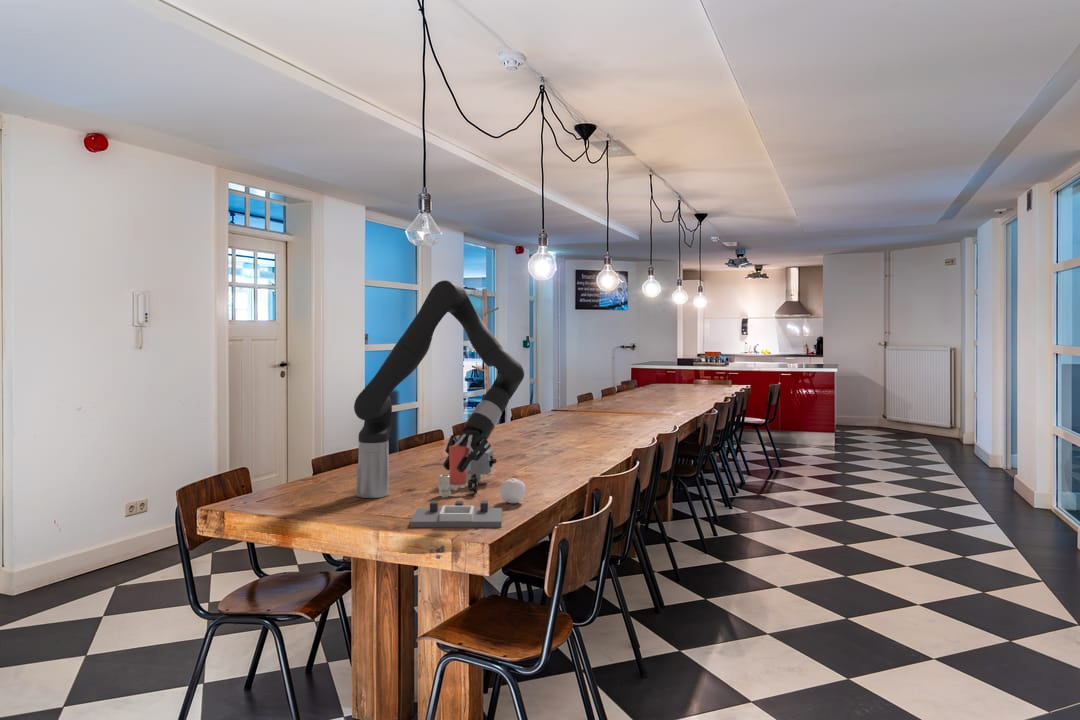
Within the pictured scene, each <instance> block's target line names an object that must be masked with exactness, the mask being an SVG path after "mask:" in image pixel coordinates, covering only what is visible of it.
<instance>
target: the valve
mask: <svg viewBox="0 0 1080 720" xmlns="http://www.w3.org/2000/svg"><path fill="white" fill-rule="evenodd" d="M471 478H473V479H470V480H469V481H468V482H467V483H466V484H464V485H450V484H449V474H439V476H438V487H437V488H438V497H439V496H442V497H441V498H449V497H448V496H450V495H451V496H452V490H453V491H457V490H458V489H459V488H460V489H465V488H466V487H467V488H468V490H469V492H471V493H472V495H473V494H475V495H477V494H478V488H479V486H478V483H477V478H476V474H473V475H472V476H471ZM451 496H450V497H451Z"/></svg>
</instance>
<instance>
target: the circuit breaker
mask: <svg viewBox="0 0 1080 720" xmlns="http://www.w3.org/2000/svg"><path fill="white" fill-rule="evenodd" d="M478 454H479V451H478V453H477V454H476V455H478ZM497 462H498V461H497V458H494V449H493V448H489V449H488V450H487V451H486V452H485V453H484V454H483V455H482V456H481V458H480V459H479V460H478V461H475V460H473V461H472V462H470V463H469V465H468V466H467V468H466V483H467V482H468V481H469V480H470V479H473V478H471V476H472V475H473V474H476V478H477V484H479V482H481V481H480V480H481V479H482V476H481V475H483V476H486V475H489V474H490V473H491V472H493V471H494V465H495V464H496V463H497Z"/></svg>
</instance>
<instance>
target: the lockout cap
mask: <svg viewBox="0 0 1080 720" xmlns="http://www.w3.org/2000/svg"><path fill="white" fill-rule="evenodd" d="M465 453H466V446H464V445H453V446H449V455H448V456H449V470H448V471H449V472H448V473H449V474H448V475H449V484H450V485H464V484H466V470H464V472H463V473H462V472H459V471H458V469H457V466H458V465H459V463H460V462H461V460H462V458H463V457H465Z"/></svg>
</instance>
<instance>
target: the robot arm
mask: <svg viewBox="0 0 1080 720" xmlns="http://www.w3.org/2000/svg"><path fill="white" fill-rule="evenodd" d="M447 313H450V314H451V315H452V316H453V317H454V318H455V319H456V320H457V321H458V322H459V323H460V325H461V327H462V328H463V329H464V331H465V332H466V335H467V338H468V340H469V342H470V344H471V346H472V348H473V349H474V351H475V352H476V353H477V356H479V357H480V359H481V360H482V362H483V363H485V365H486V366H487V367H489V368H490V367H494V368H495V369H496V370H497V372H498V374H497V377H495V380H494V381H493V383H492V385H491V387H490V388H489V389H488V390H487V391H486V393H485V394H484V395H483V397H482V398H481V400H480V402H479V403H478V404H477V405H476V407H475V408H474V410H473V411H472V413H471V414H470V415H469V417H468V419H467V420H466V421H465V423H464V425H463V431H462V432H461V433H460V434H459V435H458V436H456V435H455V434H452V435H450V437H449V439H448V443H447V445H446V447H445V453H446V454H447V457H446V458H445V461H444V462H443V466H442V467H443V468H444V469H445V470H446V471H449V446H453V445H464V446H466V453H465V457H463V458H462V460H461V462H460V463H459V465H458V466H457V469H458V471H459V472H462V473H463V472H464V470H466V468H467V466H468V465H469V463H470V462H472V461H473V460H475V461H478V460H479V459H480V458H481V456H482V455H483V454H484V453H485V452H486V451H487V450H488V449H491V443H490V441H488V439H489V437H490V436H491V435H492V432H493V431H494V430H495V428H496V426H497V424H498V423H499V421H500V419H501V416H502V414H503V413H504V411H505V409H506V407H507V406H508V404H509V402H510V400H511V399H512V397H513V395H514V394H515V392H516V391H517V390H518V388H519V387H520V385H521V383H522V381H523V380H524V377H525V370H524V368H523V366H522V365H521V363H520V362H519V361H518V360H517V359H516V358H515V357H514V356H512V355H511V354H510V353H509V352H507V351H506V350H505V349H504V348H503V346H502V345H501V344H500V342H499V341H498V340H497V338H496V337H495V336H494V334H493V333H492V332H491V331H490V329H489V328H488V327H487V325H486V324H485V323H484V320H483V319H482V318H481V317H480V315H479V314H478V311H477V310H476V307H474V305H473V303H472V300H471V299H470V297H469V295H468V293H467V291H466V290H465V288H464V287H463V286H462V285H460V284H458V283H456V282H453V281H450V280H445V279H444V280H440V281H438V282H436V283H435V284H434V285H433V287H431V289H430V291H429V293H428V294H427V296H426V298H425V300H424V302H423V304H422V305H421V307H420V309H419V311H418V312H417V314H416V316H415V317H414V318H413V320H412V321H411V322H410V324H409V326H408V327H407V328H406V330H405V331H404V333H403V334H402V335H401V337H400V338H399V339H398V341H397V342H396V343H395V345H394V347H393V348H392V350H391V352H390V353H389V355H388V356H386V359H385V360H384V362H383V363H382V365H380V367H379V369H378V371H377V372H376V374H375V375H374V377H373V378H372V379H371V380H370V381H369V382H368V383H367V385H366V386H365V387H364V388H363V389H362V390H361V391H360V393H359V394H358V395H357V397H356V398H355V400H354V406H353V410H354V413H355V416H356V417H357V418H358V419H360V420H362V421H364V423H363V426H362V427H361V428H362V429H360V431H359V433H358V465H357V466H356V497H357V498H362V499H378V498H379V499H380V498H384V497H387V496H388V495H389V474H390V473H389V471H390V470H389V469H390V468H389V452H390V451H389V448H390V445H389V438H390V433H391V430H392V415H393V404H392V400H391V397H390V395H391V394H392V392H393V391H394V390H395V388H396V387H398V385H400V384H401V383H402V382H403V381H404V380H406V379H407V378H408V377H409V376H410V375H411V374H412V373H413V372H414V371H415V370H416V368H418V366H419V365H420V364H421V362H422V361H423V359H424V358H425V357H426V355H427V353H428V352H429V349H430V347H431V343H432V340H433V336H434V332H435V330H436V329H437V326H438V325H439V323H440V322H441V321H442V319H443V318H444V317H445V315H446V314H447ZM478 451H479V454H478V455H476V454H477V453H478Z"/></svg>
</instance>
